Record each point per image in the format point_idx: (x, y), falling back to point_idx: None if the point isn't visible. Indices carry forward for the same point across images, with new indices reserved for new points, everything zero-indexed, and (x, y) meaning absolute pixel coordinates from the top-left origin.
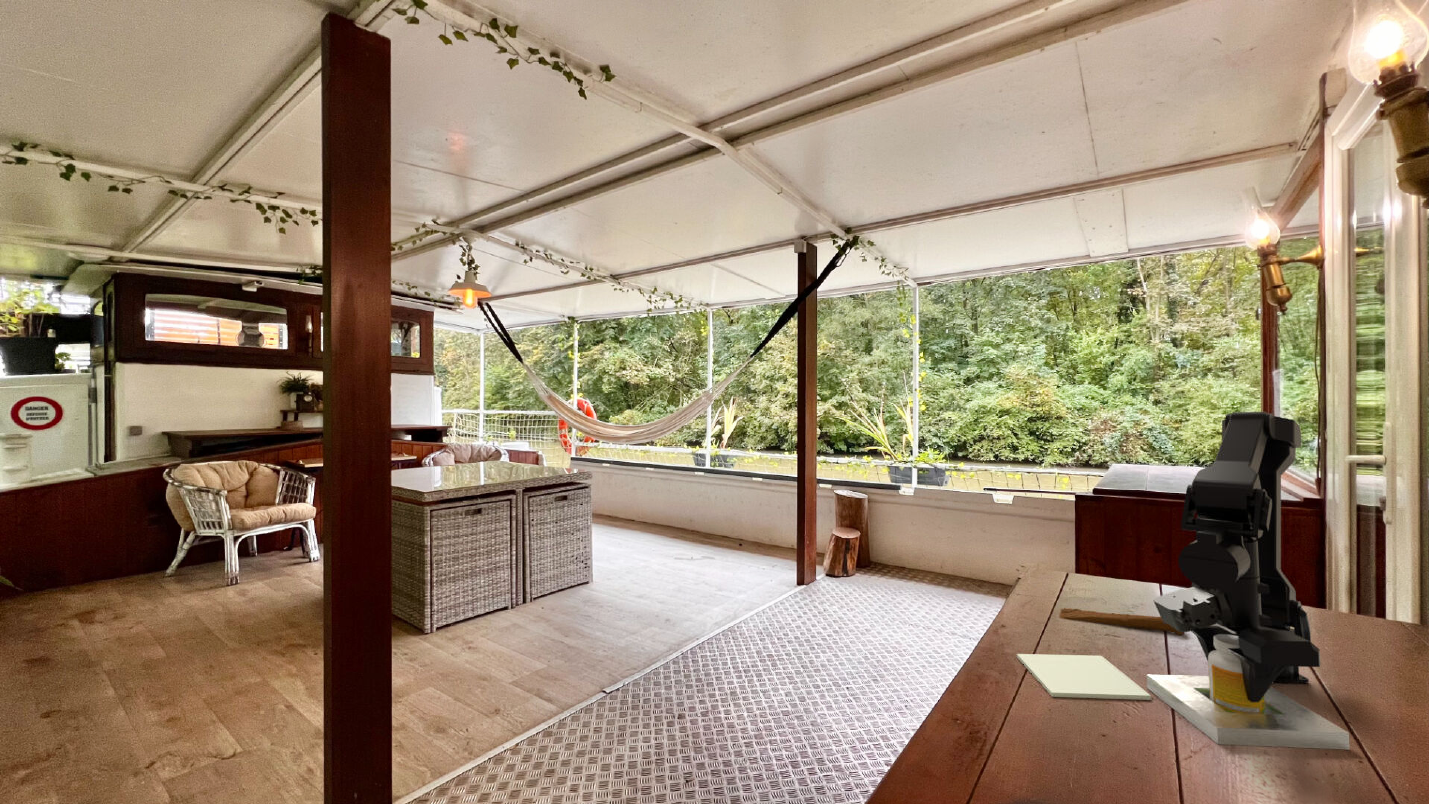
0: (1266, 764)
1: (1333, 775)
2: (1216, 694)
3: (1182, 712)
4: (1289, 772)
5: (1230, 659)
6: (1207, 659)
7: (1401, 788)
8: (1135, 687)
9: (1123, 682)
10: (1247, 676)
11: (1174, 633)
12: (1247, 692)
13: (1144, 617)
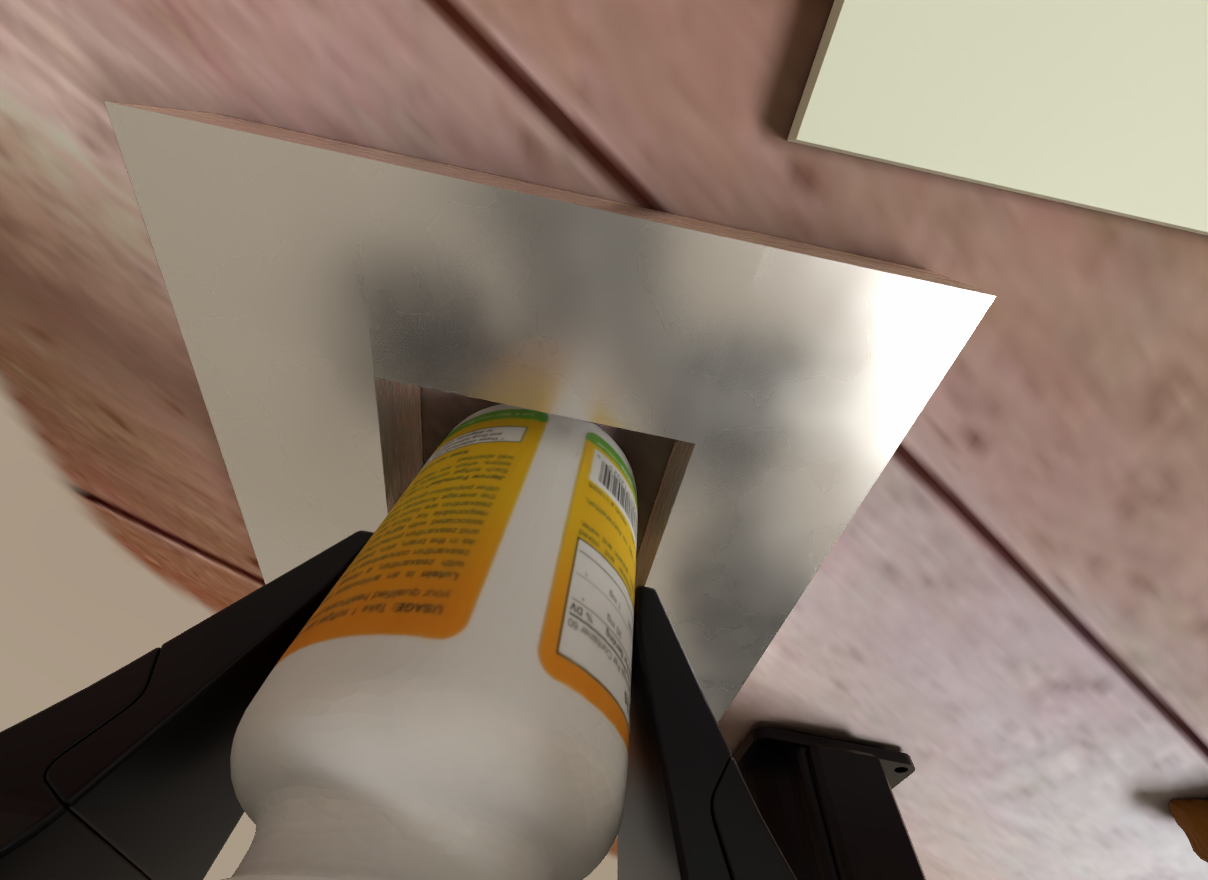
0: (78, 218)
1: (111, 419)
2: (503, 456)
3: (539, 186)
4: (46, 268)
5: (283, 794)
6: (698, 698)
7: (117, 532)
8: (956, 117)
9: (1084, 73)
10: (150, 667)
11: (1203, 799)
12: (331, 563)
13: None
